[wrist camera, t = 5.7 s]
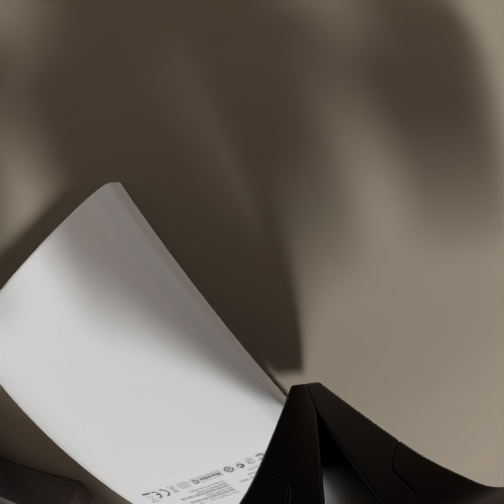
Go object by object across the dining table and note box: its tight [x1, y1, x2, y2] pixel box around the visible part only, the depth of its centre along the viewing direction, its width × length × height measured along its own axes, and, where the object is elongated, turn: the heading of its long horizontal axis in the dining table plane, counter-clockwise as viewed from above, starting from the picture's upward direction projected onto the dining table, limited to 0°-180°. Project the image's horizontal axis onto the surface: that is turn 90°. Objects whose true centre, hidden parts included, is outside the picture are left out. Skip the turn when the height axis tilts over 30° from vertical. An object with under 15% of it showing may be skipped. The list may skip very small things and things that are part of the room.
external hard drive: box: [0, 182, 287, 504], centre depth 9 cm, size 2×8×12 cm
